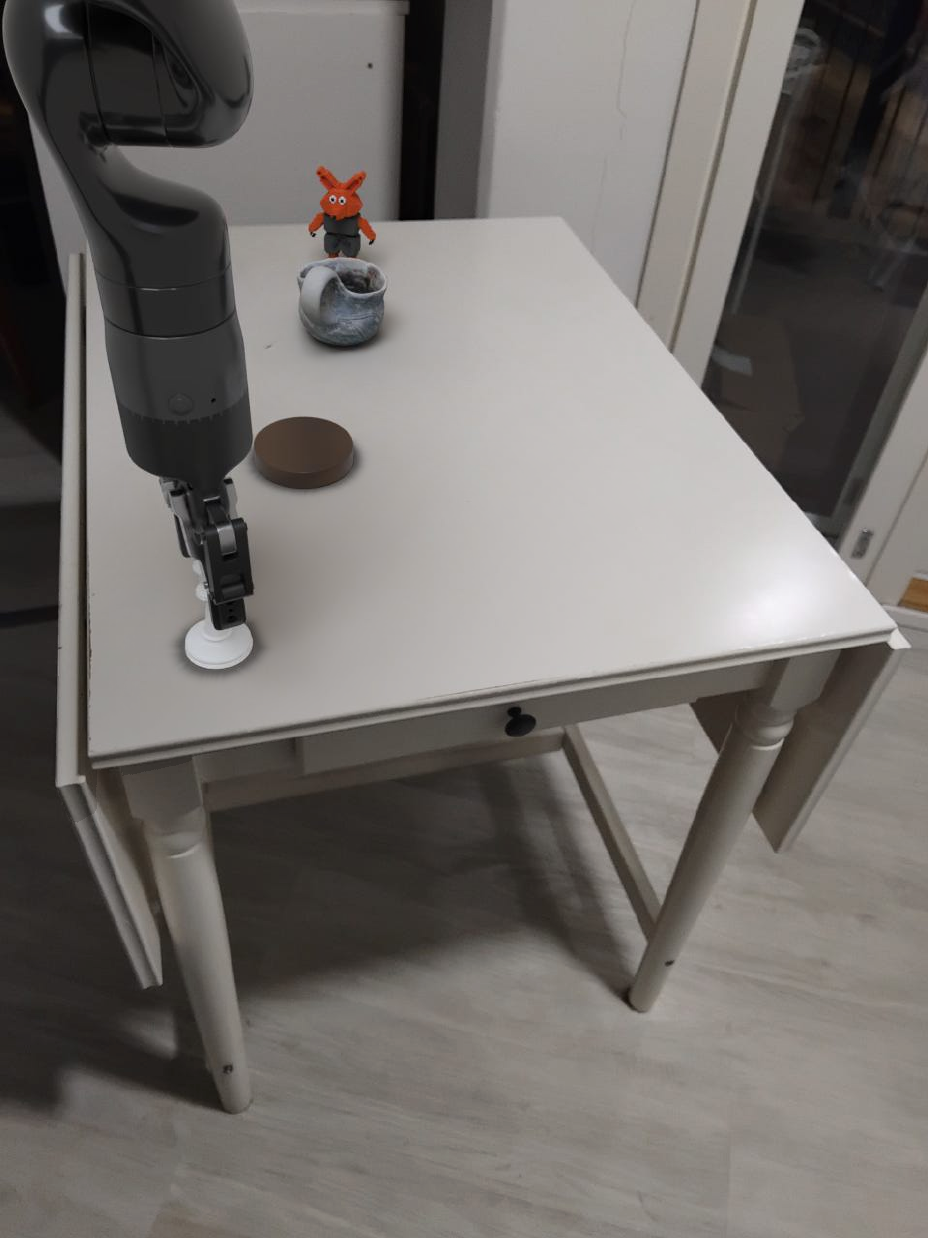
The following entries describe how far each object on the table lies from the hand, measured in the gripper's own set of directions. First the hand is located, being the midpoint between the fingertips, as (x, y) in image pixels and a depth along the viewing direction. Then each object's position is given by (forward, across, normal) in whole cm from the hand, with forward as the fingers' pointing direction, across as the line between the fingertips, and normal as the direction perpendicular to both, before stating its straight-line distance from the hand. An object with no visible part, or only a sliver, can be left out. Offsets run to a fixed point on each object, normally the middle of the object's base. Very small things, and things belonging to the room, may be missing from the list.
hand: (212, 586), depth 66 cm
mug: (+6, +39, -25) cm, 47 cm away
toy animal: (+6, +54, -31) cm, 63 cm away
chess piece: (+6, 0, 0) cm, 6 cm away
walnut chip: (+6, +20, -14) cm, 25 cm away
